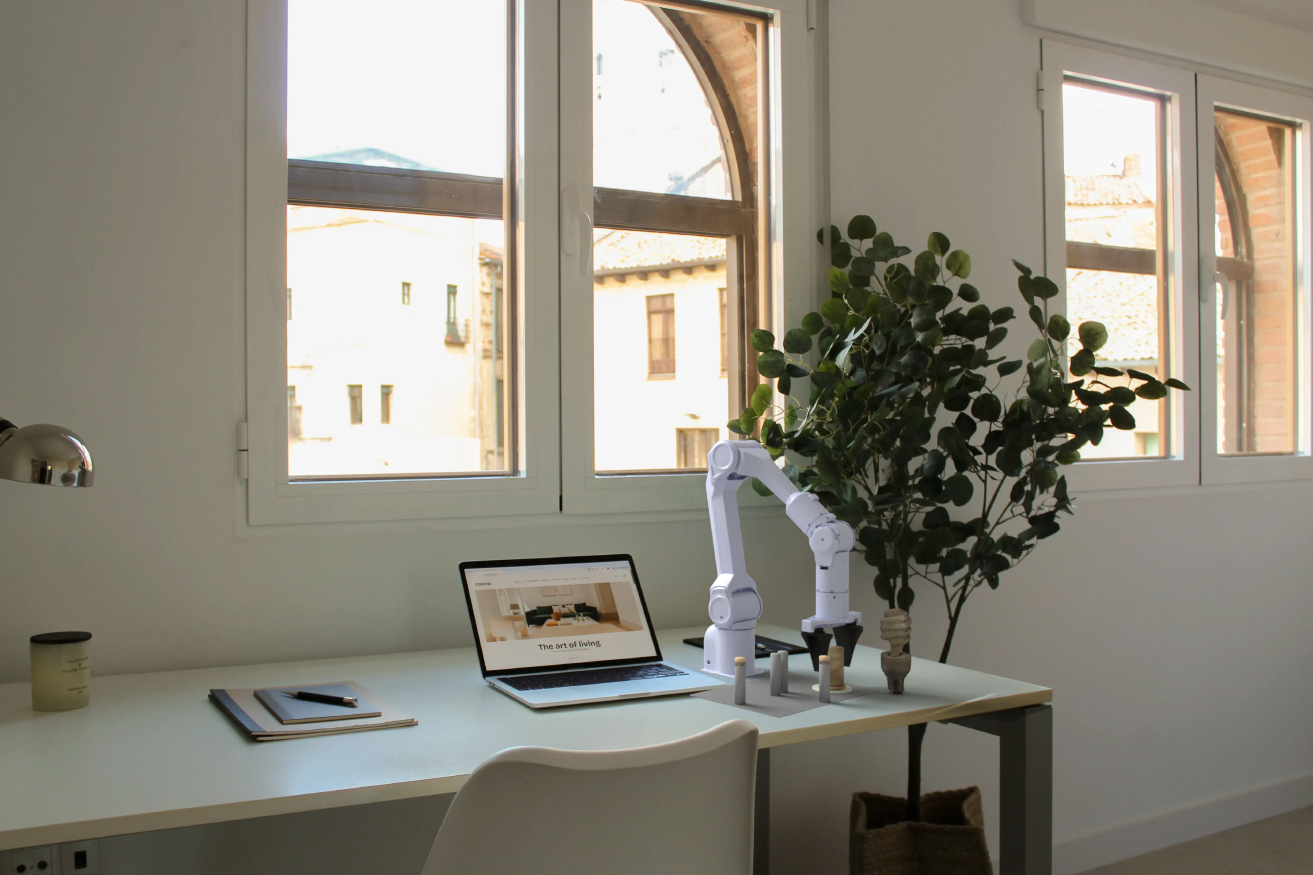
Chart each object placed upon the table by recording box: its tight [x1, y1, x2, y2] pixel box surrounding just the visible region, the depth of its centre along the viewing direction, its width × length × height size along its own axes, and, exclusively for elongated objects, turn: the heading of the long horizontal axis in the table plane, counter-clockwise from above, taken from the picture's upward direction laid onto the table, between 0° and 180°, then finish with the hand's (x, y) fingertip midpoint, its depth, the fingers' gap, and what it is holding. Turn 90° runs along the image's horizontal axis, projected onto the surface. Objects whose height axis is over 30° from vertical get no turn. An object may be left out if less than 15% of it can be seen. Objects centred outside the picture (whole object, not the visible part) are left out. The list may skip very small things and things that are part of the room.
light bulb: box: [878, 607, 913, 695], centre depth 178 cm, size 6×6×15 cm
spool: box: [828, 645, 847, 691], centre depth 180 cm, size 5×5×7 cm
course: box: [689, 650, 880, 719], centre depth 178 cm, size 20×27×8 cm
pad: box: [812, 684, 852, 694], centre depth 180 cm, size 7×7×1 cm
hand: (832, 668), depth 180 cm, fingers open, 6 cm apart
